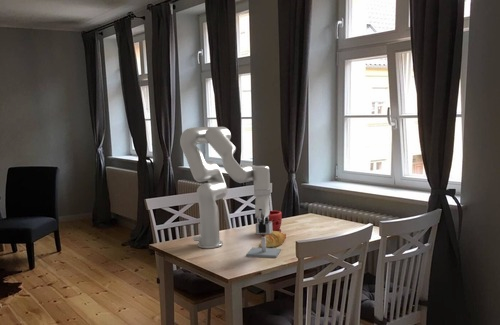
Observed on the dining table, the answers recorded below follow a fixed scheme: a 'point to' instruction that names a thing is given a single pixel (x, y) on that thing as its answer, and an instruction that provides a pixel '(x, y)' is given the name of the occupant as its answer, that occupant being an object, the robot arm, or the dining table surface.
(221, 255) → the dining table surface
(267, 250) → the keeper
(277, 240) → the croissant
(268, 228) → the grey hollow block
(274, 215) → the plant pot
